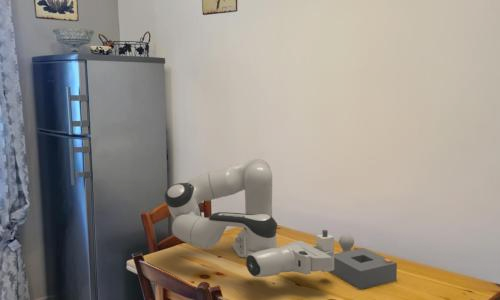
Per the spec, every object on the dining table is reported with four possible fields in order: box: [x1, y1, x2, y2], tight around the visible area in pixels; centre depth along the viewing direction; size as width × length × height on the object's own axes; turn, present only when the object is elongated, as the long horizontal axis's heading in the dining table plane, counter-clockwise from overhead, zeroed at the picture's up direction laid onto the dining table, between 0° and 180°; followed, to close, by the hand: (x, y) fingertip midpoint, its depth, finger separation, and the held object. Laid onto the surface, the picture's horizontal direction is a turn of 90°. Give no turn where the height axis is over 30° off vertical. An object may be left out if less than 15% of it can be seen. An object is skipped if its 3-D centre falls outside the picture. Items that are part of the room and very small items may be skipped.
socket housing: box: [328, 247, 398, 290], centre depth 168 cm, size 18×16×7 cm
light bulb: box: [338, 233, 355, 252], centre depth 186 cm, size 6×6×10 cm
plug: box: [315, 229, 335, 273], centre depth 163 cm, size 4×4×14 cm
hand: (327, 250), depth 164 cm, fingers closed on plug, 4 cm apart
